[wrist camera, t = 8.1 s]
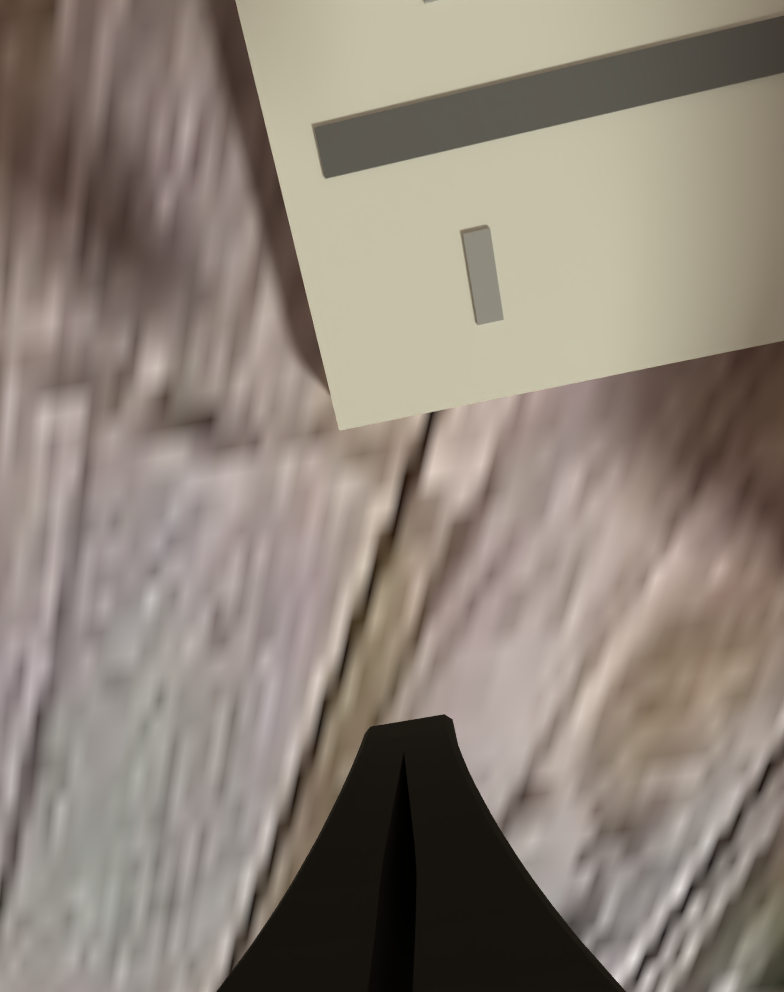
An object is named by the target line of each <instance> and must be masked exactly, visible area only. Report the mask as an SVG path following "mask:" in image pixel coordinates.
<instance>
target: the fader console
mask: <svg viewBox="0 0 784 992" xmlns="http://www.w3.org/2000/svg"><path fill="white" fill-rule="evenodd" d="M235 1H236V5H237V9H238V14H239V18H240V22H241V26H242V30H243V34H244V38H245V43H246V47H247V51H248V55H249V59H250V63H251V67H252V71H253V76H254V80H255V84H256V88H257V92H258V96H259V100H260V105H261V109H262V113H263V117H264V121H265V125H266V129H267V134H268V138H269V142H270V146H271V150H272V154H273V158H274V162H275V167H276V171H277V175H278V179H279V183H280V187H281V191H282V196H283V200H284V204H285V208H286V212H287V216H288V220H289V224H290V229H291V233H292V237H293V241H294V245H295V249H296V253H297V258H298V262H299V266H300V270H301V274H302V278H303V282H304V287H305V291H306V295H307V299H308V303H309V307H310V311H311V315H312V320H313V324H314V328H315V332H316V336H317V340H318V344H319V349H320V353H321V357H322V361H323V365H324V369H325V373H326V377H327V382H328V386H329V390H330V394H331V398H332V402H333V406H334V411H335V415H336V419H337V423H338V427H339V430H344V429H349V428H354V427H359V426H364V425H369V424H374V423H379V422H384V421H389V420H394V419H399V418H404V417H409V416H414V415H419V414H424V413H429V412H433V411H438V410H443V409H448V408H453V407H458V406H463V405H468V404H473V403H478V402H483V401H488V400H493V399H498V398H503V397H508V396H513V395H518V394H523V393H528V392H532V391H537V390H542V389H547V388H552V387H557V386H562V385H567V384H572V383H577V382H582V381H587V380H592V379H597V378H602V377H607V376H612V375H617V374H622V373H626V372H631V371H636V370H641V369H646V368H651V367H656V366H661V365H666V364H671V363H676V362H681V361H686V360H691V359H696V358H701V357H706V356H711V355H716V354H721V353H725V352H730V351H735V350H740V349H745V348H750V347H755V346H760V345H765V344H770V343H775V342H780V341H784V0H235Z"/></svg>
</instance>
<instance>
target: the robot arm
mask: <svg viewBox="0 0 784 992" xmlns="http://www.w3.org/2000/svg"><path fill="white" fill-rule="evenodd" d="M217 992H626V991H625V990H624V989H623V988H622V987H621V986H620V984H619V983H618V982H617V981H616V980H615V979H614V978H613V977H612V975H611V974H610V973H609V972H608V971H607V970H606V969H605V968H604V966H603V965H602V964H601V963H600V962H599V961H598V960H597V959H596V957H595V956H594V955H593V954H592V953H591V952H590V951H589V949H588V948H587V947H586V946H585V945H584V944H583V943H582V942H581V940H580V939H579V938H578V937H577V936H576V934H575V933H574V932H573V931H572V930H571V928H570V927H569V926H568V924H567V923H566V922H565V921H564V919H563V918H562V917H561V916H560V914H559V913H558V912H557V911H556V909H555V908H554V907H553V906H552V904H551V903H550V902H549V900H548V899H547V898H546V896H545V895H544V893H543V892H542V891H541V889H540V888H539V887H538V885H537V884H536V883H535V881H534V880H533V879H532V877H531V876H530V874H529V873H528V871H527V870H526V869H525V867H524V866H523V864H522V863H521V861H520V860H519V858H518V857H517V855H516V854H515V852H514V851H513V849H512V847H511V846H510V844H509V843H508V841H507V840H506V838H505V836H504V835H503V833H502V832H501V830H500V828H499V827H498V825H497V823H496V822H495V820H494V818H493V817H492V815H491V813H490V811H489V809H488V808H487V806H486V804H485V802H484V800H483V798H482V796H481V795H480V793H479V791H478V789H477V787H476V785H475V783H474V781H473V779H472V777H471V775H470V773H469V771H468V768H467V766H466V764H465V761H464V759H463V757H462V754H461V751H460V749H459V746H458V743H457V738H456V733H455V729H454V724H453V720H452V719H451V718H449V717H448V716H446V715H445V714H444V715H438V716H432V717H426V718H420V719H414V720H408V721H402V722H396V723H390V724H384V725H378V726H372V727H370V728H369V729H368V730H367V732H366V733H365V735H364V738H363V740H362V743H361V746H360V748H359V751H358V753H357V756H356V758H355V760H354V763H353V765H352V767H351V770H350V772H349V774H348V777H347V779H346V781H345V783H344V785H343V788H342V790H341V792H340V794H339V796H338V798H337V800H336V802H335V804H334V806H333V808H332V810H331V812H330V814H329V816H328V818H327V820H326V822H325V824H324V826H323V828H322V830H321V832H320V834H319V836H318V838H317V840H316V842H315V843H314V845H313V847H312V849H311V850H310V852H309V854H308V856H307V857H306V859H305V861H304V863H303V864H302V866H301V868H300V870H299V871H298V873H297V875H296V877H295V879H294V880H293V882H292V884H291V885H290V887H289V889H288V890H287V892H286V893H285V895H284V897H283V898H282V900H281V901H280V903H279V905H278V906H277V908H276V909H275V911H274V912H273V914H272V915H271V917H270V918H269V920H268V921H267V923H266V924H265V926H264V927H263V929H262V930H261V932H260V933H259V935H258V936H257V937H256V939H255V940H254V942H253V943H252V945H251V946H250V947H249V949H248V950H247V952H246V953H245V954H244V956H243V957H242V958H241V960H240V961H239V962H238V964H237V965H236V966H235V968H234V969H233V970H232V972H231V973H230V974H229V976H228V977H227V978H226V980H225V981H224V982H223V984H222V985H221V986H220V988H219V989H218V990H217Z"/></svg>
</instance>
